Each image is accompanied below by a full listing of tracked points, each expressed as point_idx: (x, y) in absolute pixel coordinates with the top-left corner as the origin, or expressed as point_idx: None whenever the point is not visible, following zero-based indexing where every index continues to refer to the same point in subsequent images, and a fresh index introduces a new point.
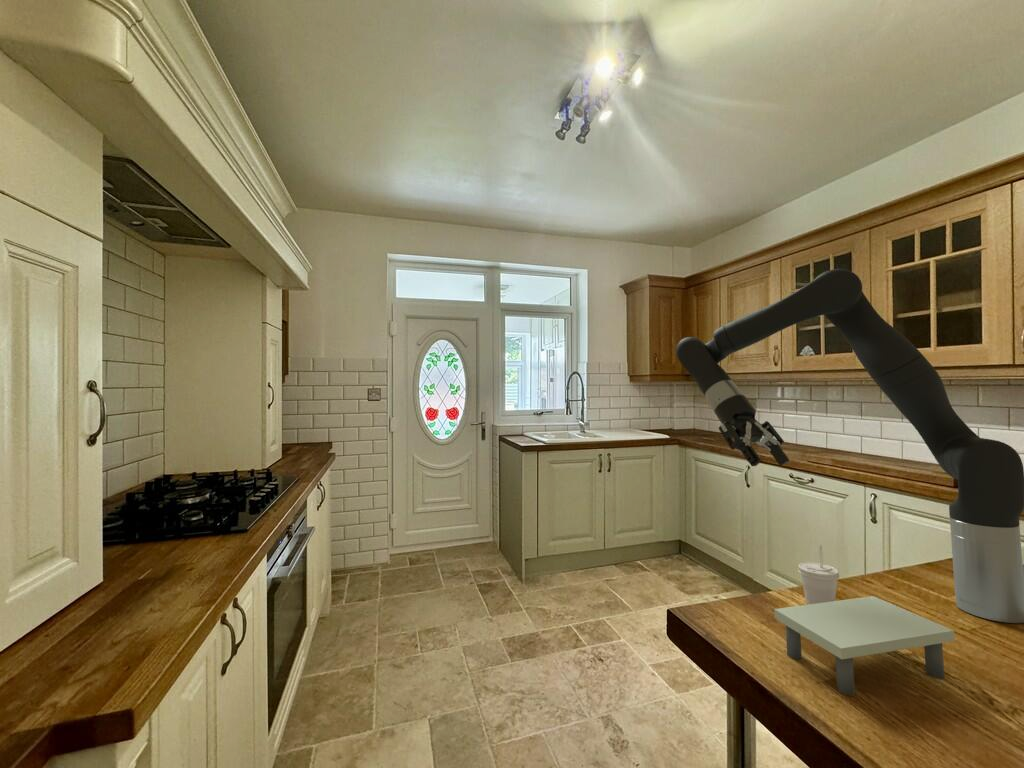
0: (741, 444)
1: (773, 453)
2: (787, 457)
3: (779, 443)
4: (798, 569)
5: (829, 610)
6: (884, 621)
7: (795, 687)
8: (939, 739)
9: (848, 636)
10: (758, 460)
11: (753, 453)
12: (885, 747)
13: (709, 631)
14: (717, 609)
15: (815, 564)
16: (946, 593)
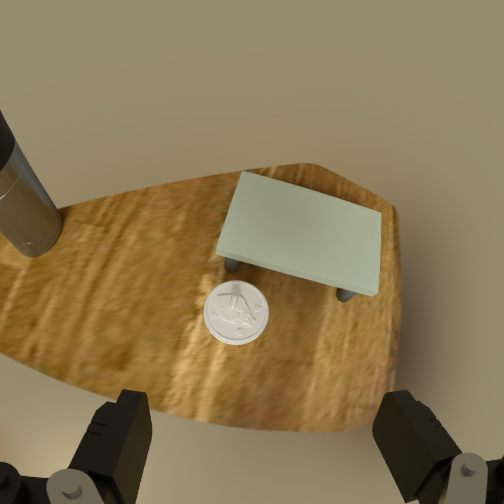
0: (490, 465)
1: (133, 488)
2: (121, 397)
3: (58, 478)
4: (251, 340)
5: (319, 256)
6: (287, 211)
7: (382, 264)
8: (337, 187)
9: (356, 218)
10: (406, 390)
11: (428, 422)
12: (376, 202)
13: (385, 373)
14: (333, 417)
15: (217, 325)
16: (10, 274)
